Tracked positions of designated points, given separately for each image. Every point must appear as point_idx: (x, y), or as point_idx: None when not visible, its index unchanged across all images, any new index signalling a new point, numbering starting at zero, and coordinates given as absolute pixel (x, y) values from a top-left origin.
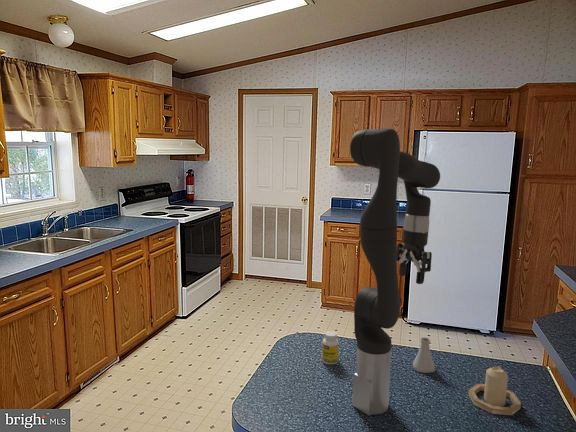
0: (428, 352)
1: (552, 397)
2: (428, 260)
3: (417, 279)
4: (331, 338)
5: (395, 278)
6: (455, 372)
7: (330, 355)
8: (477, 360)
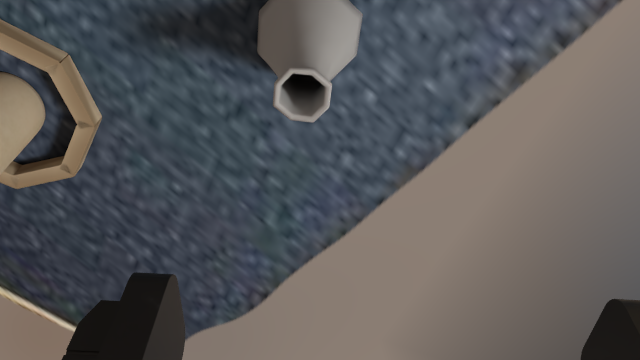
0: (279, 70)
1: (11, 272)
2: None
3: (112, 326)
4: None
5: None
6: (228, 128)
7: None
8: (275, 255)
